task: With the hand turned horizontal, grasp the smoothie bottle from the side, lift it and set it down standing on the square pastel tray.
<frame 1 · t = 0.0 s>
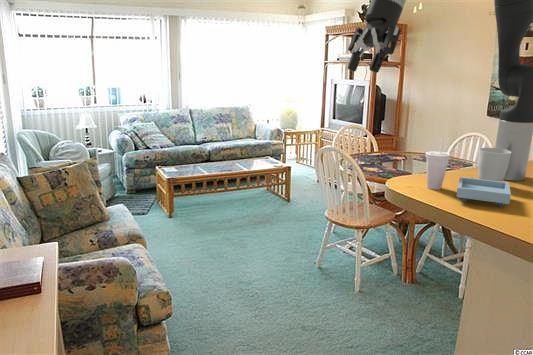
hand: (361, 70, 104), 31 cm above the table, tool tilted 20°, fingers open, 8 cm apart
cup: (489, 185, 127), on the table
smoothie: (433, 188, 123), on the table
square pastel tray: (481, 200, 113), on the table
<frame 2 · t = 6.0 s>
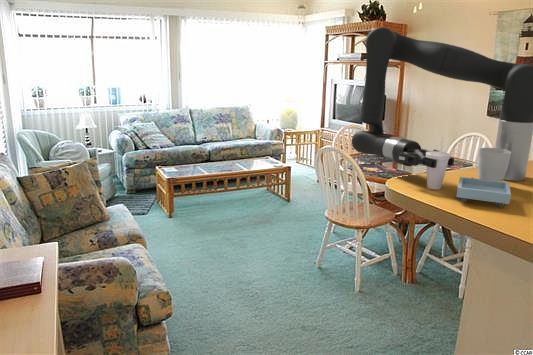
hand: (444, 163, 119), 8 cm above the table, tool horizontal, fingers closed on smoothie, 5 cm apart
smoothie: (433, 188, 123), on the table, touching gripper
everything else where it was.
when the fingers open (10 cm above the table, at t = 10.6 s): smoothie stays where it is, resting on square pastel tray.
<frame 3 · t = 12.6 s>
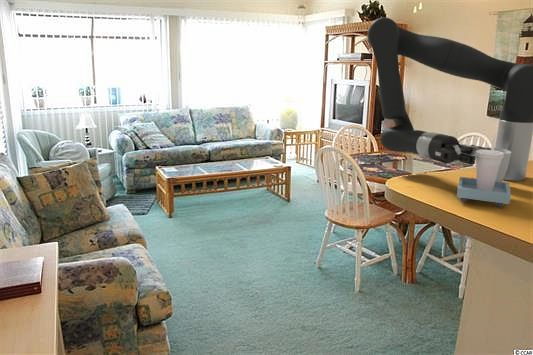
hand: (486, 159, 111), 11 cm above the table, tool horizontal, fingers open, 8 cm apart
smoothie: (484, 190, 113), point 2 cm above the table, touching square pastel tray
everything else where it was.
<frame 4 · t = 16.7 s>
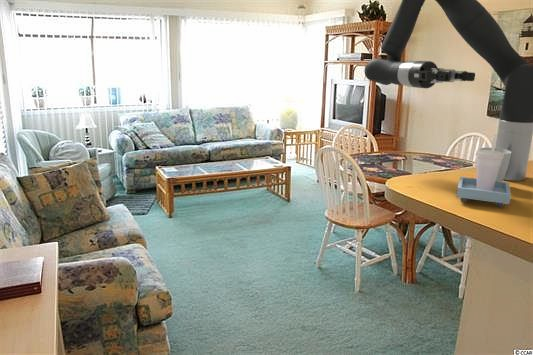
hand: (462, 77, 115), 30 cm above the table, tool horizontal, fingers open, 8 cm apart
nothing on the table moved.
at the end: smoothie inside the target area on the square pastel tray (0.9 cm from its centre), point 2.4 cm above the square pastel tray's base; smoothie tilted 0°; the gripper is holding nothing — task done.
